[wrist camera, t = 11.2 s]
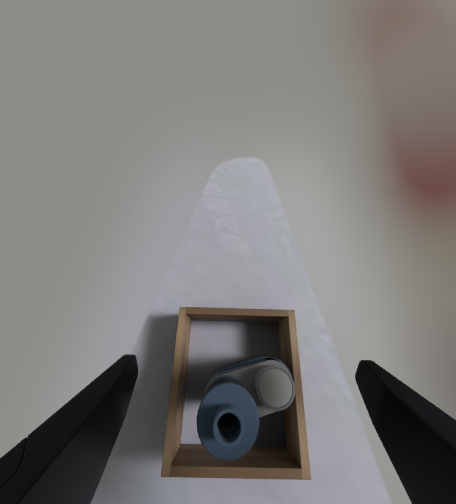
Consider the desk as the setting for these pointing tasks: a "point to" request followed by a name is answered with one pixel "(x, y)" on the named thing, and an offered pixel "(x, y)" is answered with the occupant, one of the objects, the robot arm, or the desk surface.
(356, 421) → the desk surface
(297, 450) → the box
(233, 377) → the vaping device
